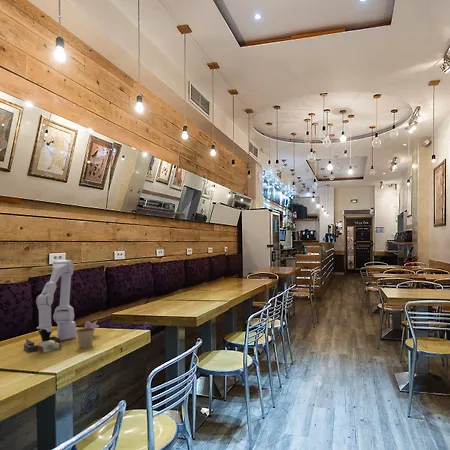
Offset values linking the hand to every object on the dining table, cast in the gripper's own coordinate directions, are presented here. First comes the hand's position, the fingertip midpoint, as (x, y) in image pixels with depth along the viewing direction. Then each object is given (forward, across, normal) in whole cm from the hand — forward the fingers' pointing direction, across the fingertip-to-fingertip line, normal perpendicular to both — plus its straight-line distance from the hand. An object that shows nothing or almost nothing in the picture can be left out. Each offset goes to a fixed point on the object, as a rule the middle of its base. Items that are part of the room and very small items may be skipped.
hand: (45, 344), depth 197 cm
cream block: (+2, +4, 0) cm, 5 cm away
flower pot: (+2, +15, +15) cm, 21 cm away
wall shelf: (+2, -4, 0) cm, 5 cm away
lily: (+2, -4, +25) cm, 25 cm away
